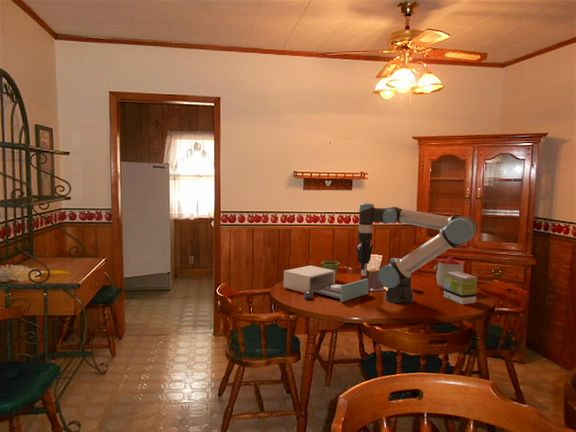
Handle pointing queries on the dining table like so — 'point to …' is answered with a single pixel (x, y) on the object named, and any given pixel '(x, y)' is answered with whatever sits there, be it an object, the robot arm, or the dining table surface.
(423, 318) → the dining table surface
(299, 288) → the white drawer box
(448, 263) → the citrus juicer
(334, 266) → the plant pot
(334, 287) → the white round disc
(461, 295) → the tea box
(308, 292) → the grey knob
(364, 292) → the drawer
